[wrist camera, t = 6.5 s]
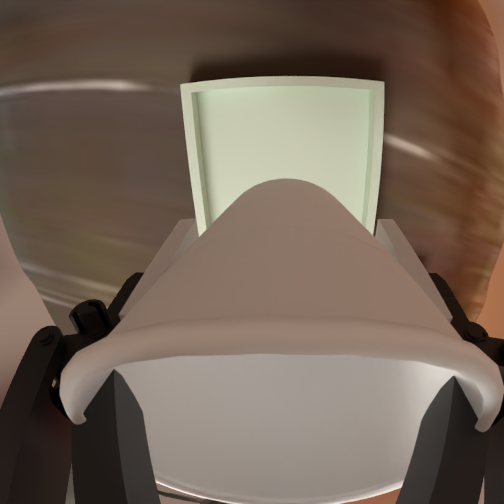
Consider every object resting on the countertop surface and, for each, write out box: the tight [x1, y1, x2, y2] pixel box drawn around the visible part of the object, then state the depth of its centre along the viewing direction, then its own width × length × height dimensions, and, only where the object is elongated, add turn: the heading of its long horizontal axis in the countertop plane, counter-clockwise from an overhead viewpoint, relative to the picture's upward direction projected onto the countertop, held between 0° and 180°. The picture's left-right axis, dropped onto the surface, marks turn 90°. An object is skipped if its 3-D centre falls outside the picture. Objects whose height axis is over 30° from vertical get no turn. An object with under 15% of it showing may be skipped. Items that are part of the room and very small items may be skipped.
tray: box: [180, 76, 384, 237], centre depth 24 cm, size 16×16×2 cm
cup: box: [60, 178, 504, 504], centre depth 10 cm, size 10×10×11 cm
